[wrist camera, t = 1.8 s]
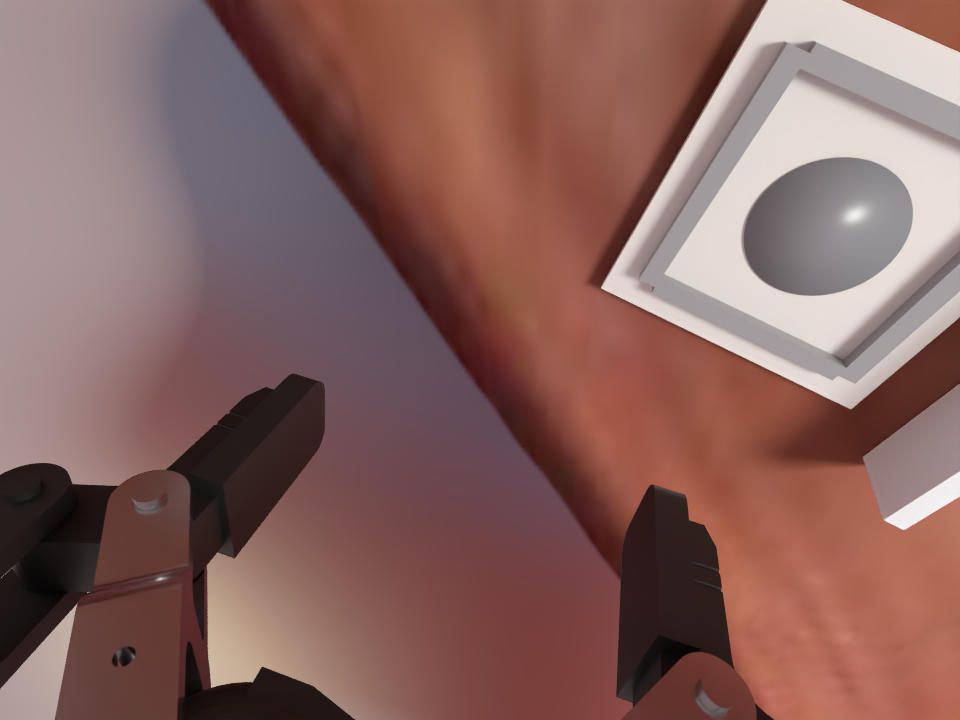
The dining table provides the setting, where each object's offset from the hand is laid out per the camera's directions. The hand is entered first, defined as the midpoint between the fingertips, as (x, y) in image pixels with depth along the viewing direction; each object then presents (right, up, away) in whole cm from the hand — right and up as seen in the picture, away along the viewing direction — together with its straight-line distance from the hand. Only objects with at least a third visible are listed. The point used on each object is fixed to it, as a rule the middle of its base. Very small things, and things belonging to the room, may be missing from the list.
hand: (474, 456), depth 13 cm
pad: (+17, +9, +14) cm, 24 cm away
